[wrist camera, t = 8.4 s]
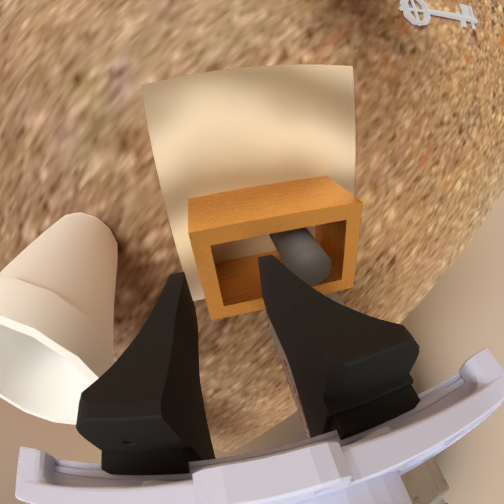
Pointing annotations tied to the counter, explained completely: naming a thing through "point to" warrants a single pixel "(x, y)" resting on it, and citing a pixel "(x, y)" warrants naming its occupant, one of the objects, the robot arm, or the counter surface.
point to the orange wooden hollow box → (267, 222)
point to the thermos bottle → (415, 481)
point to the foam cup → (58, 317)
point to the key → (436, 13)
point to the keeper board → (251, 148)
